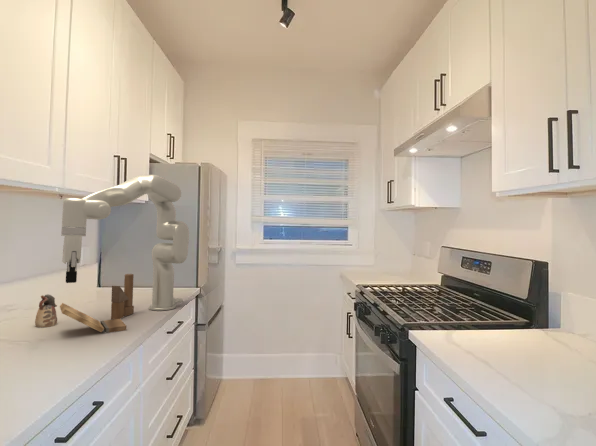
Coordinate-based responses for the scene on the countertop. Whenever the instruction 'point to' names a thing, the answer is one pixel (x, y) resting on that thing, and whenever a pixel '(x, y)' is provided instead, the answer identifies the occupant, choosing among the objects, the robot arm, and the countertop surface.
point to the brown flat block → (113, 325)
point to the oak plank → (81, 317)
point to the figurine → (46, 312)
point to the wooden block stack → (122, 299)
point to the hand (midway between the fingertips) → (70, 282)
